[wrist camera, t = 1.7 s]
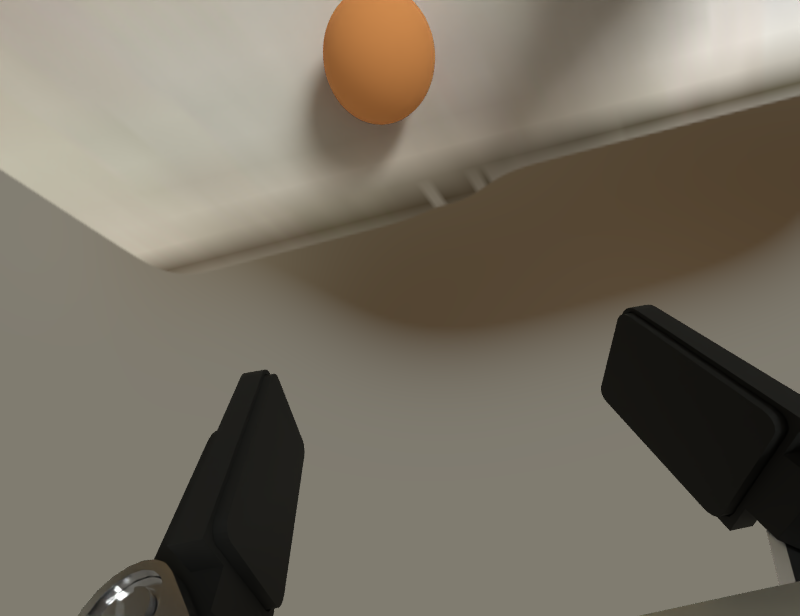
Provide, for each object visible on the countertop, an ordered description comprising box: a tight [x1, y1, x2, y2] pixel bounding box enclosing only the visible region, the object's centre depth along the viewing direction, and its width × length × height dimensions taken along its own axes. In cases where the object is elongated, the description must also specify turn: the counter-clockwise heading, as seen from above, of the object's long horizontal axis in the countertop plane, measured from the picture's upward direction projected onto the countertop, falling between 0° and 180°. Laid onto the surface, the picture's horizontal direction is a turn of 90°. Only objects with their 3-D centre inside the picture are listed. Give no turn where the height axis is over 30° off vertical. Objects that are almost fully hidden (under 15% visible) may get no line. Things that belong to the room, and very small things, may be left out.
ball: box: [323, 0, 435, 125], centre depth 18 cm, size 6×6×6 cm
